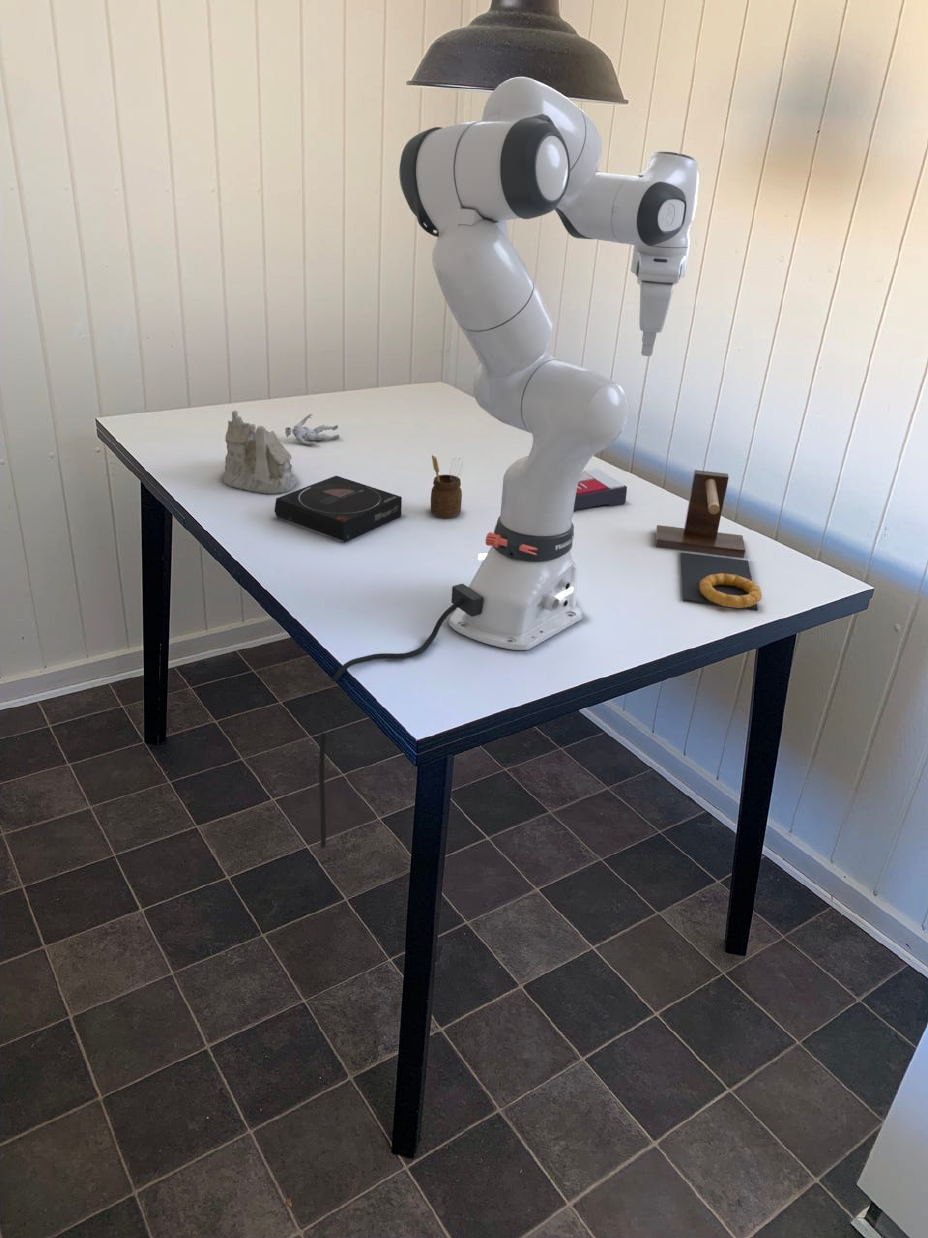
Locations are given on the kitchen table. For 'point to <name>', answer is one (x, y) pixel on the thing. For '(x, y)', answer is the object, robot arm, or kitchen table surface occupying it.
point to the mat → (703, 566)
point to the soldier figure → (310, 432)
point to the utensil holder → (445, 494)
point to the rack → (703, 520)
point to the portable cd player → (338, 508)
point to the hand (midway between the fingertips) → (646, 348)
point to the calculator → (598, 490)
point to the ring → (727, 599)
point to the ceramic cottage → (256, 459)
